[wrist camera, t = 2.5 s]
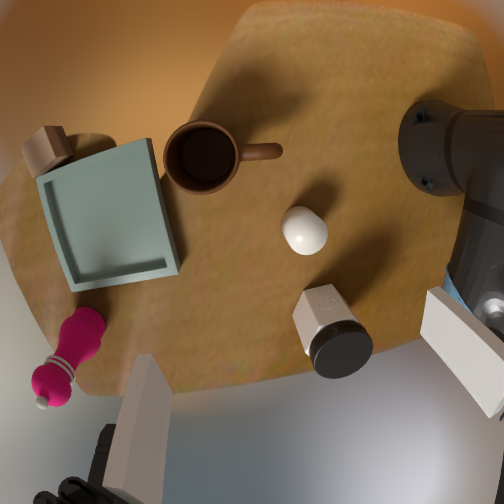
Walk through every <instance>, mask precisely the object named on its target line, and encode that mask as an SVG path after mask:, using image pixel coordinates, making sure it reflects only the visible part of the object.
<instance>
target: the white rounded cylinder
mask: <svg viewBox="0 0 504 504" xmlns="http://www.w3.org/2000/svg"><path fill="white" fill-rule="evenodd" d="M281 230H282V233H283V234H284V236H285V238H286V240H287V241H288V243H289V245H290V246H291V248H292V249H293V250H294V251H295V252H297V253H299V254H302V255H310V254H313V253H316V252H317V251H319V250H320V249H321V248H322V247H323V246H324V244H325V243H326V240H327V236H328V230H327V227H326V224H325V223H324V222H323V220H321V219H320V218H319V217H318V216H317V215H316V214H314V213H313V212H312V211H311V210H310V209H308V208H306V207H303V206H296V207H293V208H290V209H289V210H288V211H286V212H285V214H284V215H283V217H282V219H281Z"/></svg>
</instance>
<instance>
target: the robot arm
mask: <svg viewBox="0 0 504 504" xmlns="http://www.w3.org/2000/svg"><path fill="white" fill-rule="evenodd" d="M398 147H399V155H400V159H401V163H402V166H403V168H404V171H405V173H406V175H407V176H408V178H409V179H410V181H411V182H412V183H413V184H414V185H415V186H416V187H417V188H418V189H420V190H421V191H423V192H425V193H428V194H431V195H434V196H439V197H446V196H452V195H458V194H465V200H464V206H463V209H462V214H461V219H460V224H459V228H458V233H457V237H456V241H455V245H454V248H453V252H452V255H451V258H450V262H449V263H448V264H447V266H446V275H445V278H444V282H443V285H442V289H441V288H440V287H439V286H438V287H435V288H432V289H430V290H427V297H426V304H425V310H424V316H423V321H422V327H421V332H420V334H421V335H422V337H423V338H424V339H425V340H426V341H427V342H428V343H429V344H430V346H431V347H432V348H433V349H434V350H435V351H436V353H437V354H438V355H439V356H440V357H441V358H442V360H443V361H444V362H445V363H446V364H447V365H448V367H449V368H450V369H451V370H452V371H453V373H454V374H455V375H456V376H457V378H458V379H459V380H460V381H461V383H462V384H463V385H464V386H465V388H466V389H467V390H468V391H469V393H470V394H471V395H472V396H473V398H474V399H475V400H476V402H477V403H478V404H479V405H480V407H481V408H482V409H483V411H484V412H485V413H486V415H487V416H488V417H489V418H491V417H492V416H493V415H495V414H496V413H497V412H499V411H500V410H501V408H502V407H503V405H504V110H463V109H460V108H458V107H456V106H453V105H451V104H448V103H446V102H443V101H438V100H430V101H422V102H419V103H417V104H415V105H414V106H412V107H411V108H410V109H409V110H408V111H407V113H406V114H405V116H404V118H403V120H402V123H401V126H400V130H399V137H398ZM172 397H173V392H172V391H171V389H170V387H169V385H168V383H167V382H166V380H165V378H164V376H163V374H162V372H161V370H160V368H159V366H158V364H157V362H156V361H155V359H154V357H153V355H152V354H145V355H137V357H136V360H135V363H134V366H133V369H132V373H131V376H130V379H129V382H128V386H127V389H126V392H125V396H124V399H123V403H122V406H121V410H120V413H119V417H118V421H117V424H106V426H105V427H104V428H103V430H102V431H101V433H100V435H99V439H98V442H97V444H98V445H97V446H96V450H95V454H94V457H93V461H92V465H91V469H90V473H89V477H88V482H85V481H84V480H82V479H80V478H79V477H68V478H66V479H65V480H63V481H62V482H61V484H60V486H59V489H58V495H59V497H56V496H55V495H53V494H52V493H50V492H48V491H41V492H39V493H38V494H37V495H36V496H35V498H34V500H33V504H162V491H163V478H164V467H165V455H166V446H167V437H168V428H169V420H170V412H171V404H172ZM503 418H504V412H503V414H502V415H501V417H500V421H502V419H503ZM495 504H504V455H503V462H502V468H501V475H500V480H499V486H498V490H497V495H496V499H495Z"/></svg>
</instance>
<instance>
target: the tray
mask: <svg viewBox="0 0 504 504" xmlns="http://www.w3.org/2000/svg"><path fill="white" fill-rule="evenodd" d="M36 181H37V186H38V190H39V194H40V198H41V202H42V206H43V210H44V214H45V217H46V221H47V224H48V227H49V231H50V234H51V237H52V240H53V243H54V246H55V249H56V252H57V255H58V258H59V261H60V263H61V266H62V269H63V271H64V274H65V277H66V279H67V282H68V284H69V286H70V289H71V291H72V292H77V291H83V290H89V289H95V288H101V287H107V286H113V285H118V284H124V283H130V282H136V281H142V280H148V279H153V278H159V277H165V276H171V275H176V274H179V271H180V268H181V264H180V261H179V257H178V253H177V249H176V246H175V242H174V238H173V234H172V230H171V226H170V222H169V218H168V214H167V210H166V206H165V202H164V197H163V193H162V188H161V184H160V179H159V175H158V170H157V165H156V160H155V155H154V150H153V145H152V140H151V138H144V139H141V140H137V141H134V142H131V143H127V144H124V145H121V146H118V147H115V148H112V149H109V150H106V151H103V152H100V153H97V154H94V155H92V156H89V157H86V158H83V159H81V160H78V161H76V162H73V163H70V164H68V165H65V166H63V167H61V168H58V169H56V170H53V171H51V172H49V173H47V174H44V175H42V176H40V177H38V178H36Z"/></svg>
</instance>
